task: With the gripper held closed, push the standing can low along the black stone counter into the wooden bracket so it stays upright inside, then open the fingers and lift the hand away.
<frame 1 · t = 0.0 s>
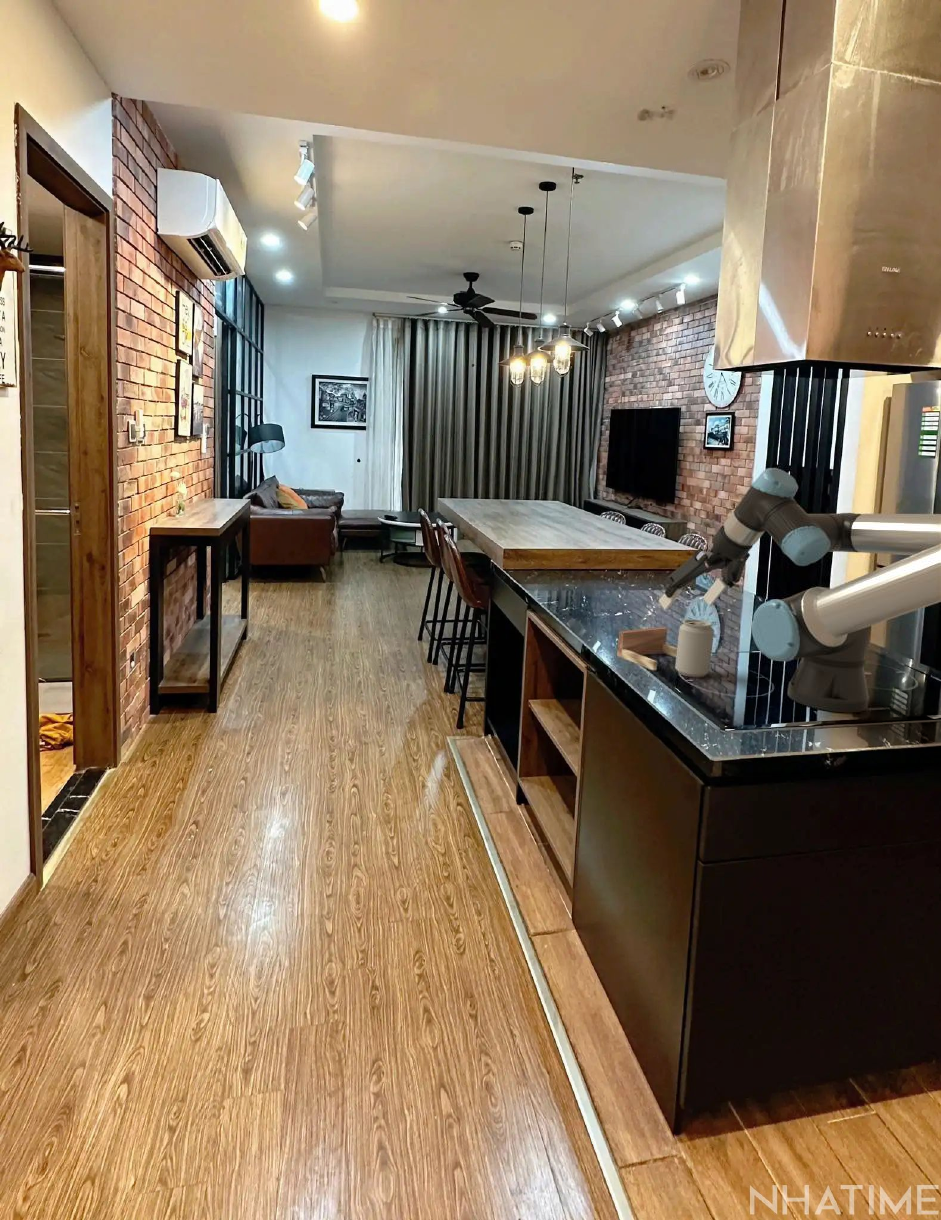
hand: (685, 603, 173), 15 cm above the countertop, tool tilted 35°, fingers open, 13 cm apart
can: (691, 674, 173), on the countertop
wooden bracket: (654, 659, 184), on the countertop
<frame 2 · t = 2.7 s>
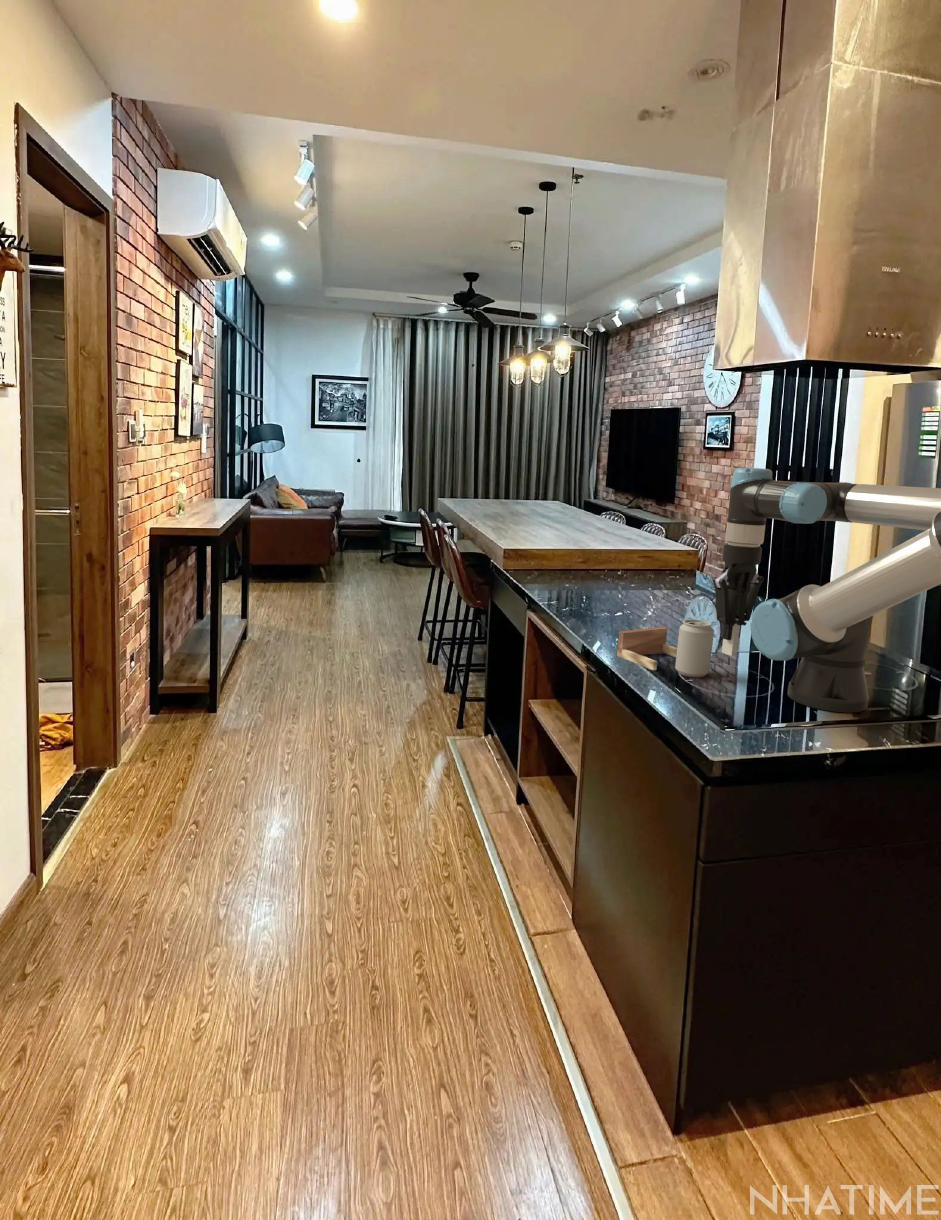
hand: (728, 653, 164), 7 cm above the countertop, tool pointing down, fingers closed
nothing on the countertop moved.
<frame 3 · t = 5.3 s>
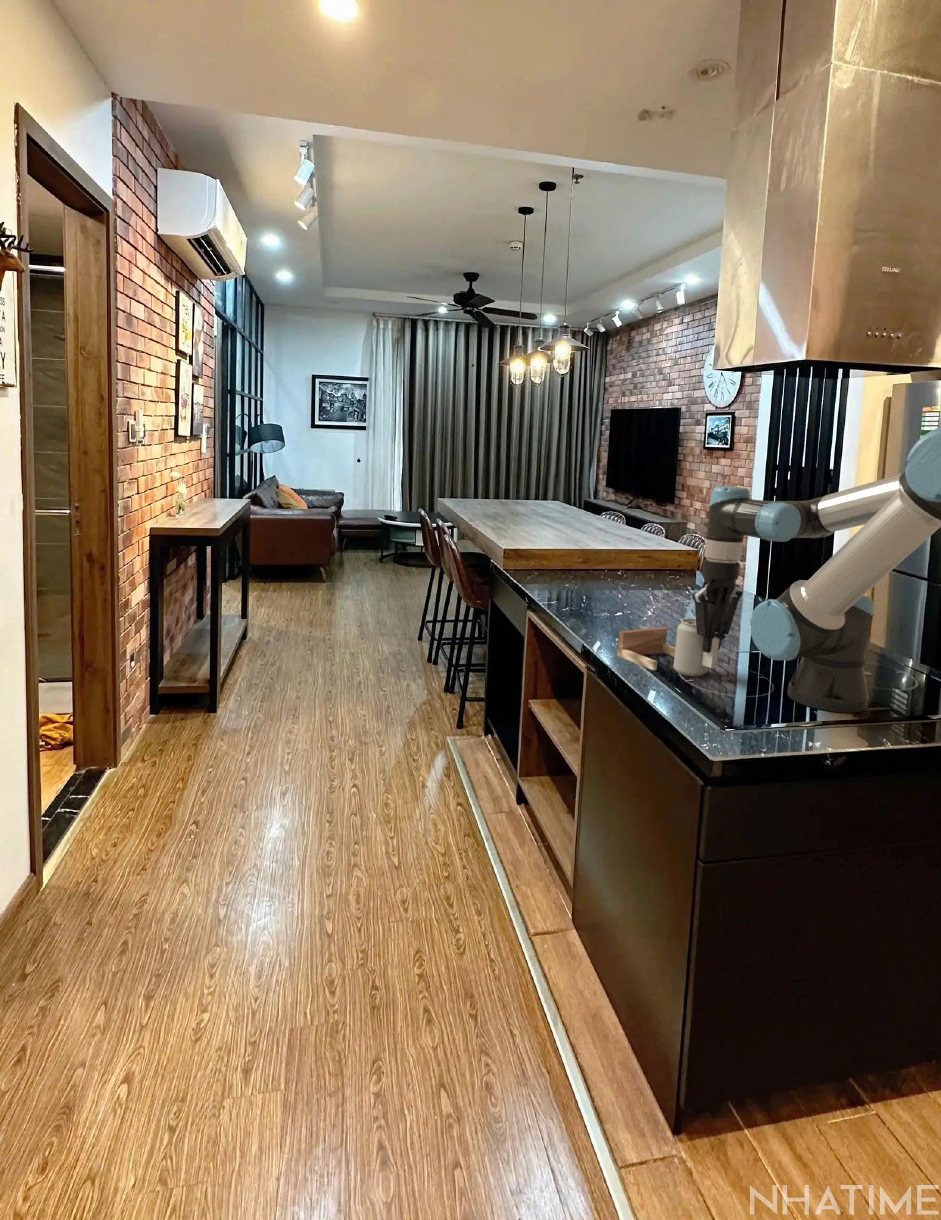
hand: (708, 665, 169), 3 cm above the countertop, tool pointing down, fingers closed
can: (689, 673, 174), on the countertop, touching gripper
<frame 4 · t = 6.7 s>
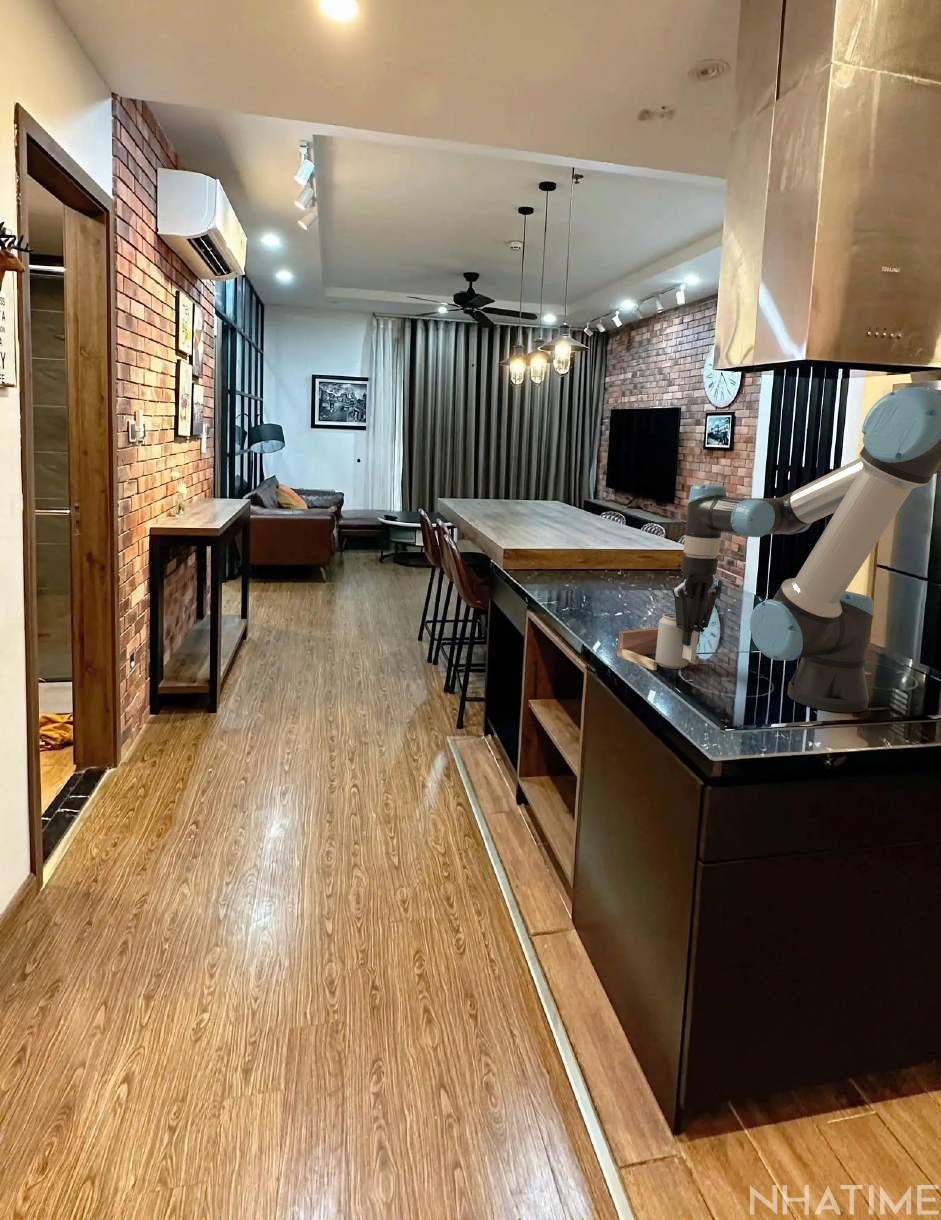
hand: (688, 658, 174), 3 cm above the countertop, tool pointing down, fingers closed
can: (671, 666, 179), on the countertop, touching gripper
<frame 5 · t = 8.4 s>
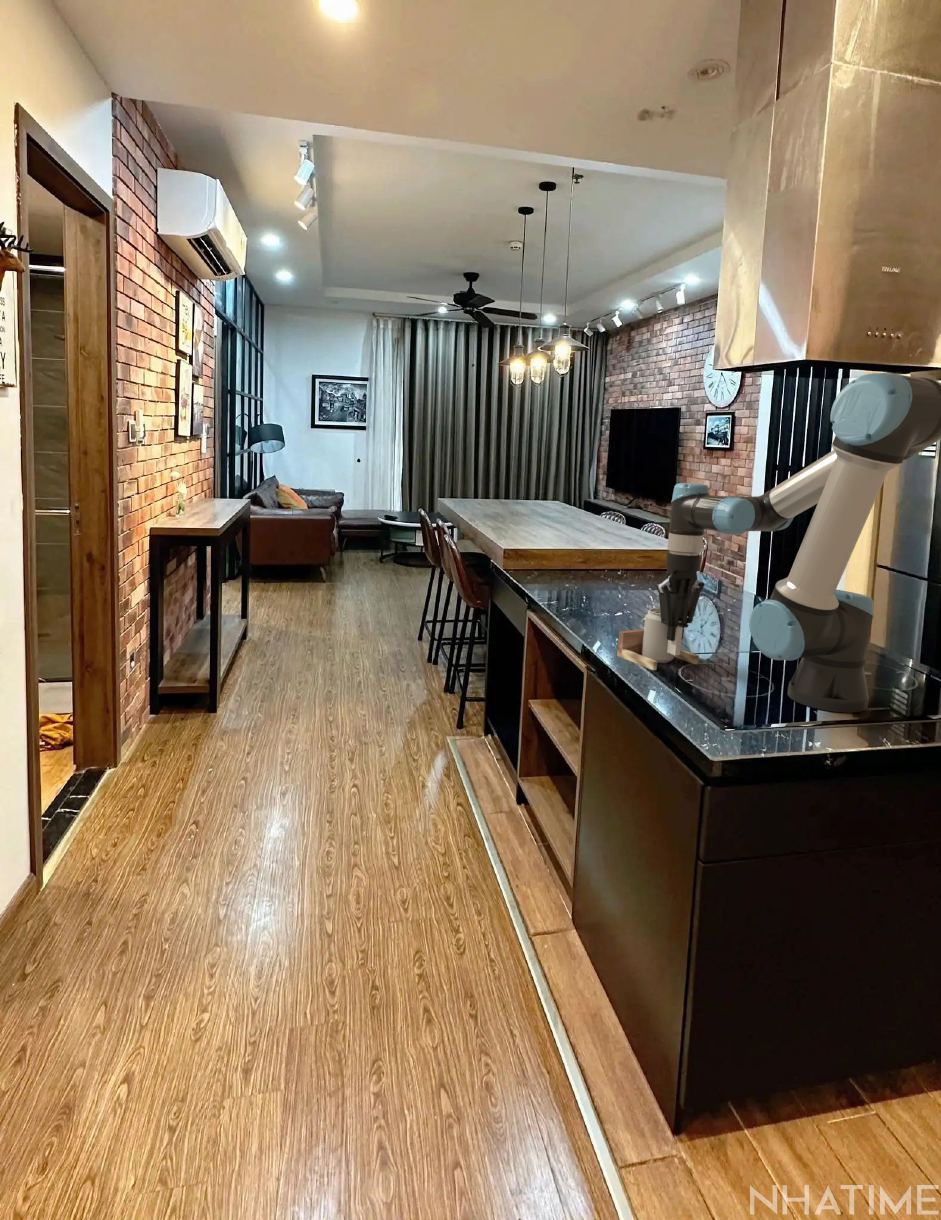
hand: (673, 653, 178), 3 cm above the countertop, tool pointing down, fingers closed
can: (657, 660, 183), on the countertop, touching gripper
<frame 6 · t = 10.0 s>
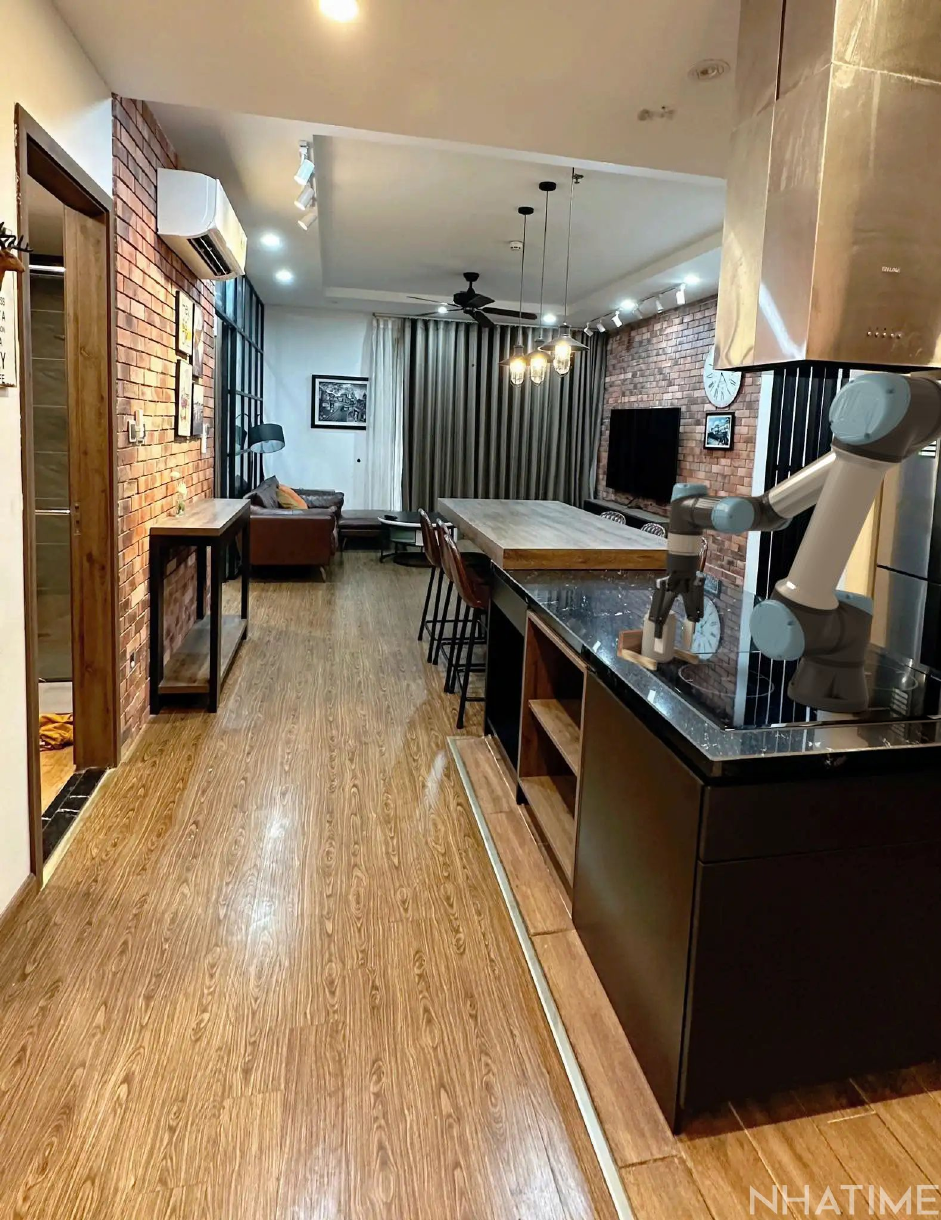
hand: (672, 650, 178), 4 cm above the countertop, tool pointing down, fingers open, 8 cm apart
can: (656, 660, 183), on the countertop
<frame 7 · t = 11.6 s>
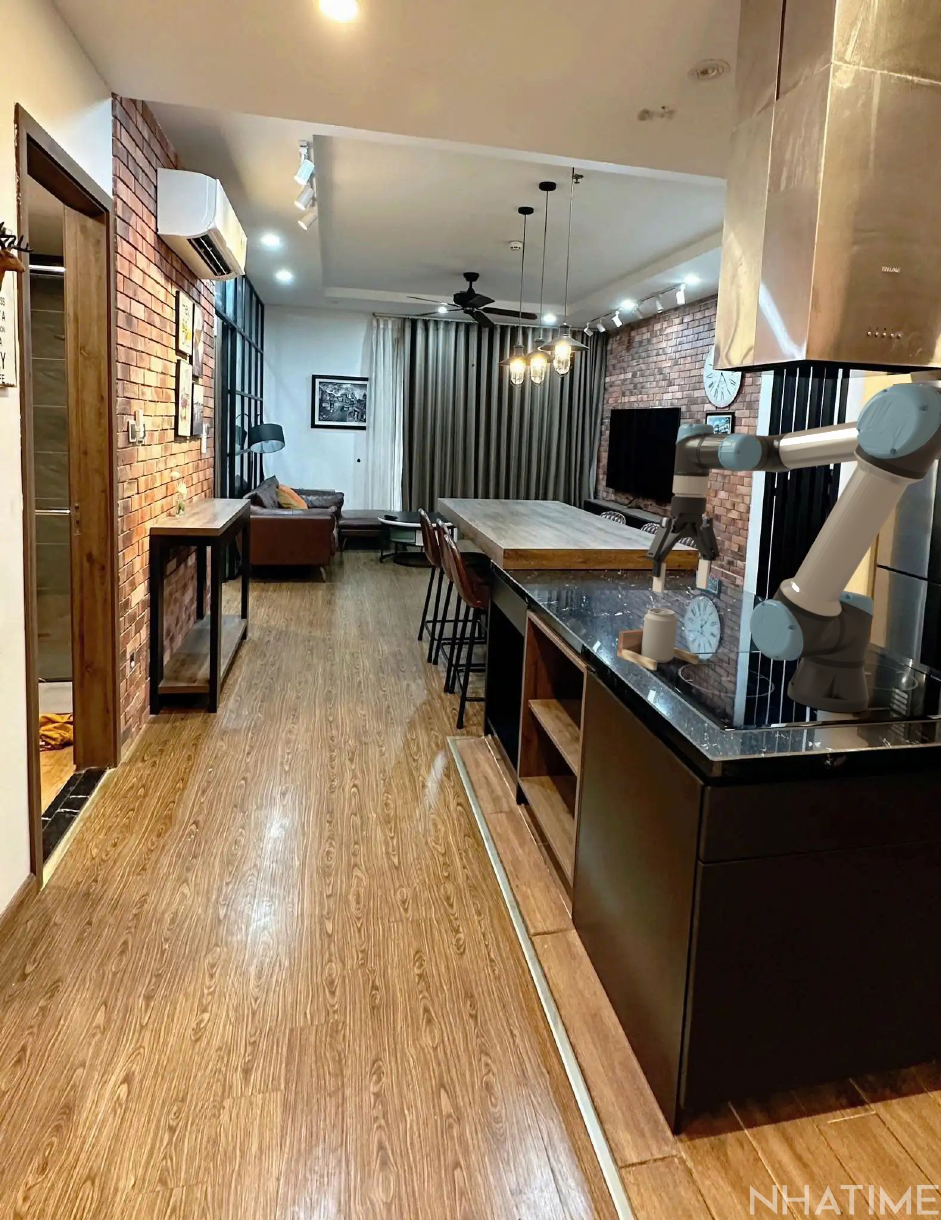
hand: (680, 590, 175), 18 cm above the countertop, tool pointing down, fingers open, 13 cm apart
nothing on the countertop moved.
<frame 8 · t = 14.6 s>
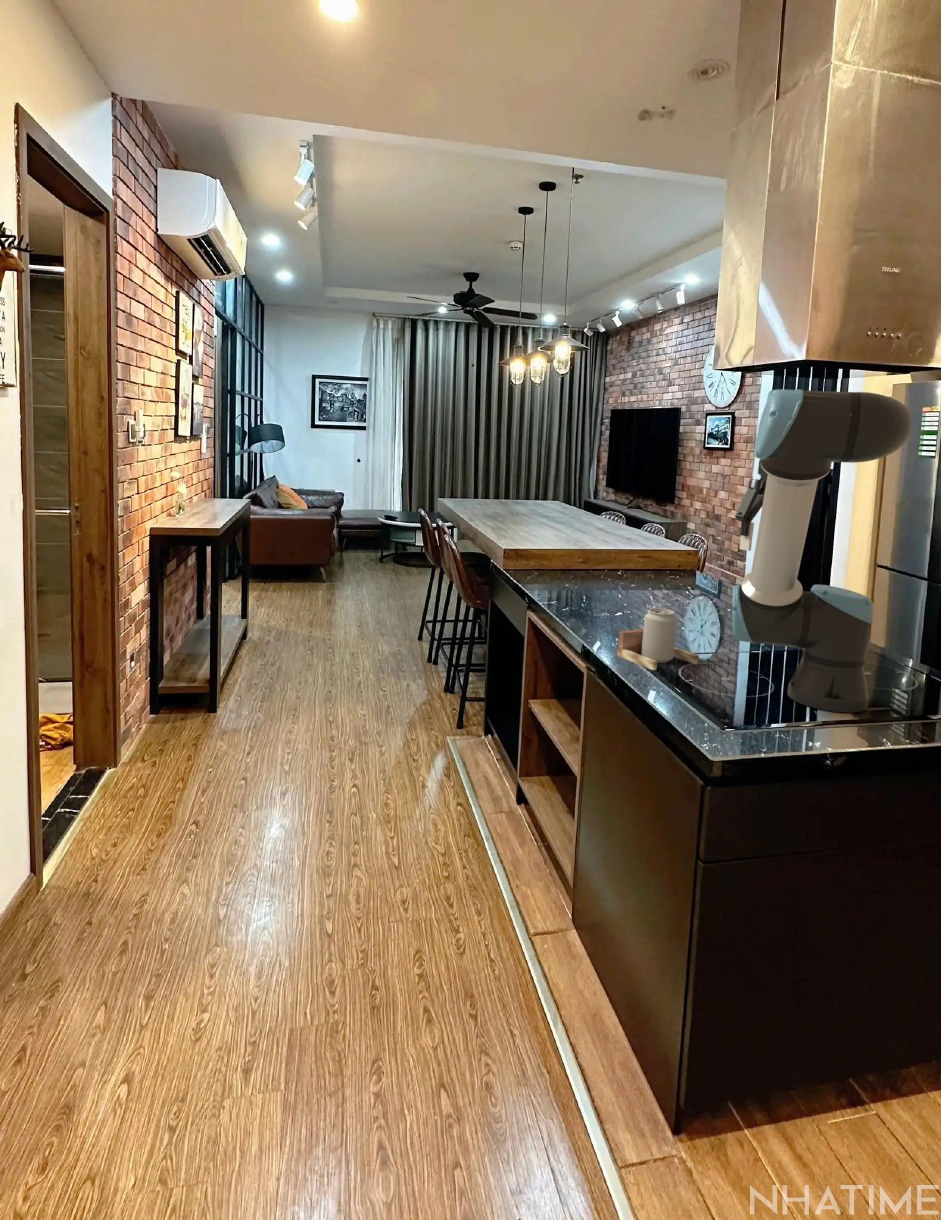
hand: (764, 549, 184), 27 cm above the countertop, tool pointing down, fingers open, 13 cm apart
nothing on the countertop moved.
at the end: can inside the target area on the wooden bracket (0.3 cm from its centre), point 0.0 cm above the wooden bracket's base; can tilted 0° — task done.
